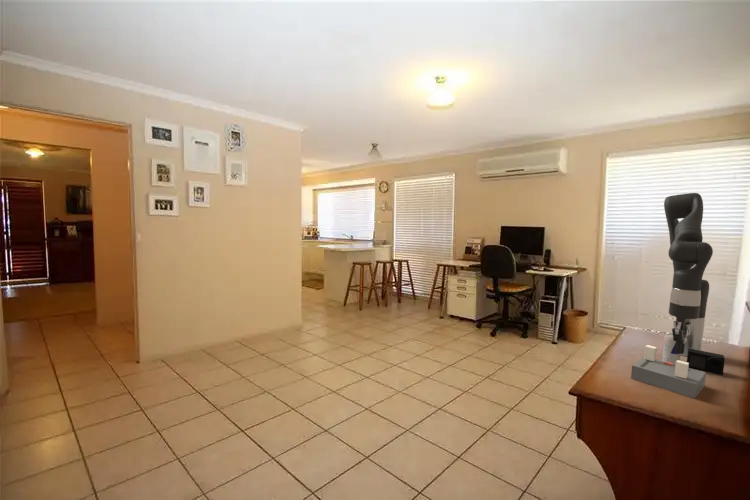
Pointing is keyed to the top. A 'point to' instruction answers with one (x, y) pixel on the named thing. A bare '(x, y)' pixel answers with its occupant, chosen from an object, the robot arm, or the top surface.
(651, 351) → the on switch
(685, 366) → the cream eraser-shaped brick
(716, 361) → the digital camera
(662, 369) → the breaker box
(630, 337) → the top surface
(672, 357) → the energy drink
